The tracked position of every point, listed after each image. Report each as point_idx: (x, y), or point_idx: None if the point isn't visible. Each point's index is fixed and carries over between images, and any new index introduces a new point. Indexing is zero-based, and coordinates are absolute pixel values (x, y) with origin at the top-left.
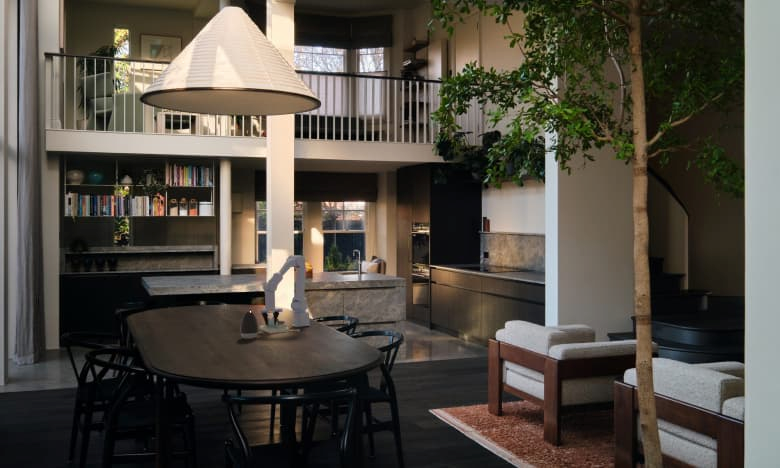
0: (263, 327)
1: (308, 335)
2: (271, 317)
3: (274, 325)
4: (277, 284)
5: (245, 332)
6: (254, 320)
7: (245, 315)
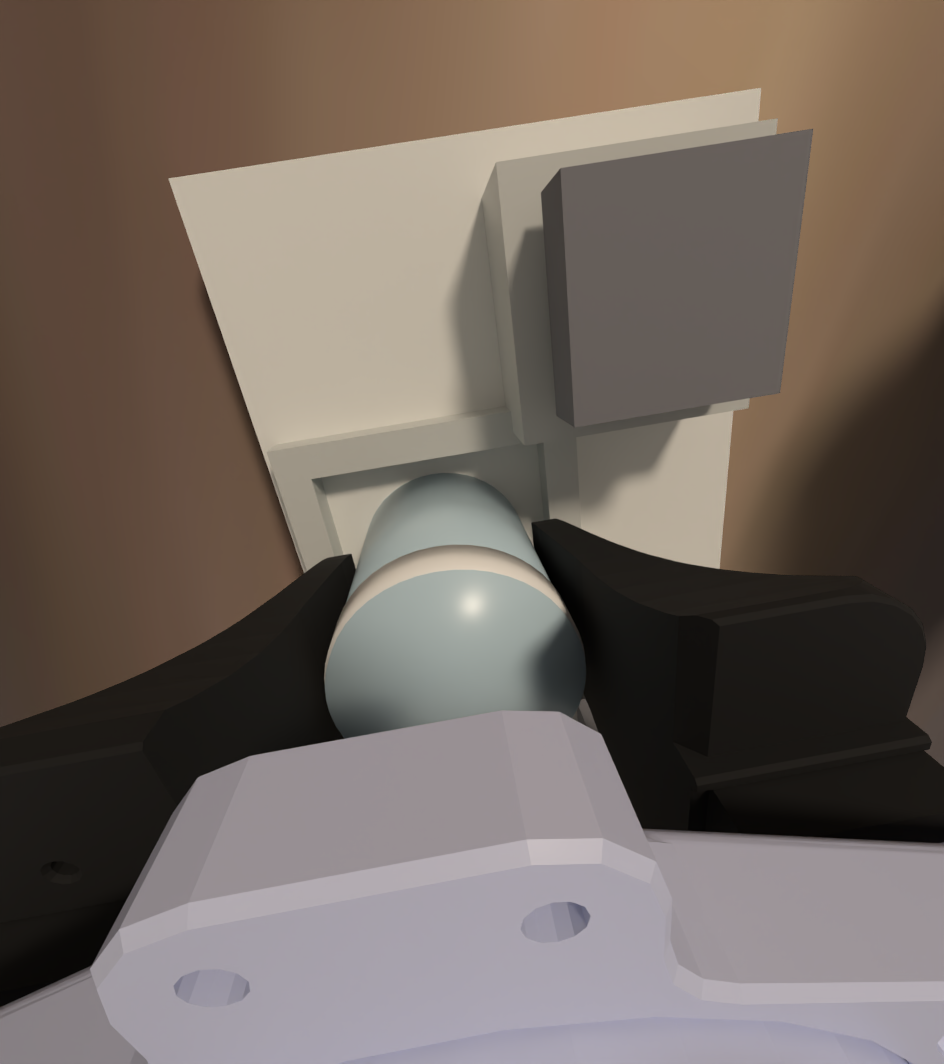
0: (288, 527)
1: None
2: (515, 590)
3: (546, 498)
4: None
5: None
6: None
7: None
